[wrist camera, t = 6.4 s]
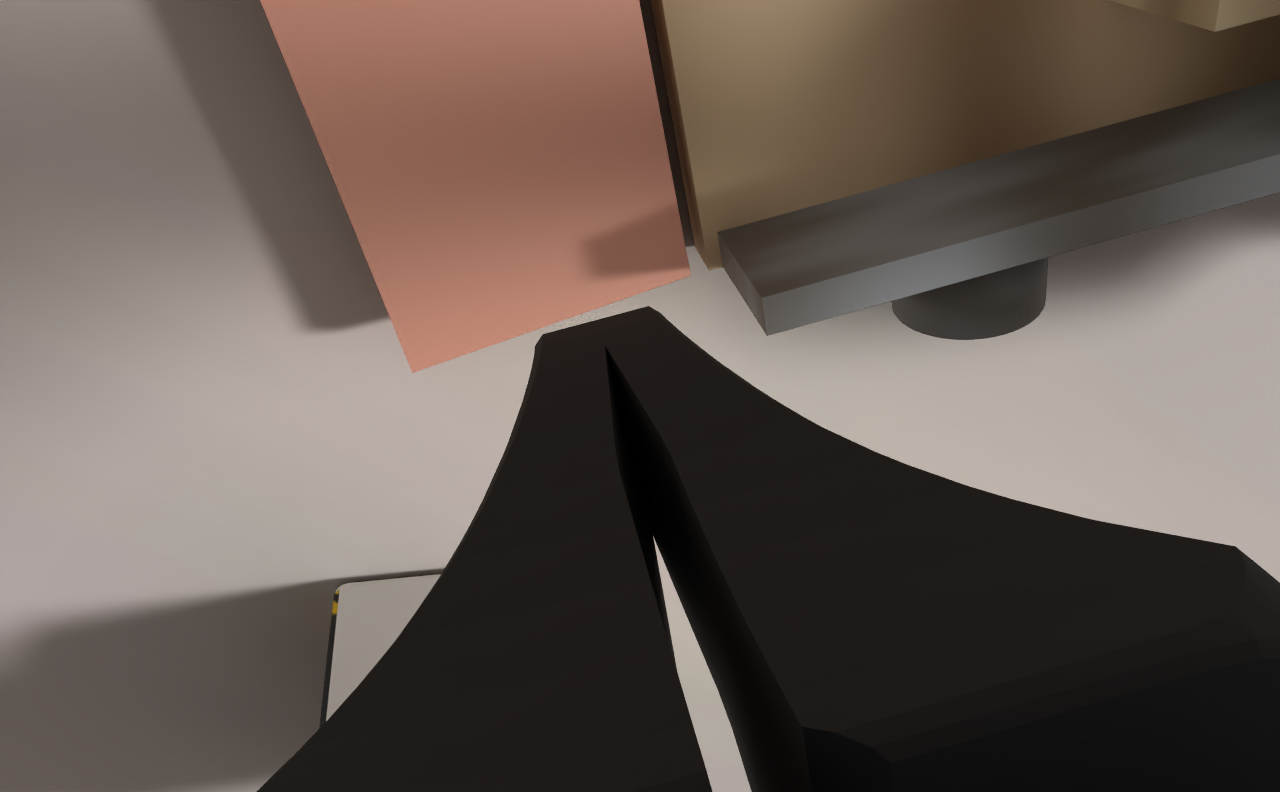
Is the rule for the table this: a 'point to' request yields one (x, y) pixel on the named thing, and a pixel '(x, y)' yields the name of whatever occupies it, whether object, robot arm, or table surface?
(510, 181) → the panel
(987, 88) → the trailer
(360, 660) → the medicine bottle
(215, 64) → the table surface
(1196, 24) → the beige square block
